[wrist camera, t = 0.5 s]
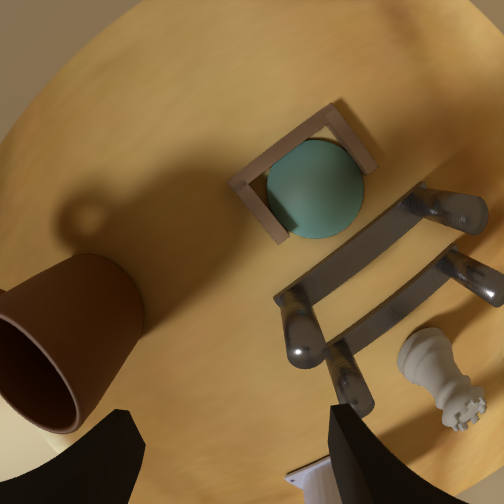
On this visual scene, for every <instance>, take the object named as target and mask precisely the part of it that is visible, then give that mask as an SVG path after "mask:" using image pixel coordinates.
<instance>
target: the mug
mask: <svg viewBox="0 0 504 504" xmlns="http://www.w3.org/2000/svg"><path fill="white" fill-rule="evenodd" d="M143 324H144V310H143V304H142V301H141V298H140V295H139V293H138V291H137V289H136V287H135V285H134V283H133V282H132V281H131V279H130V278H129V277H128V275H127V274H126V273H125V272H124V271H123V270H122V269H121V268H120V267H118V266H117V265H116V264H114V263H113V262H111V261H109V260H108V259H106V258H103V257H101V256H97V255H92V254H83V255H77V256H74V257H71V258H68V259H66V260H64V261H62V262H60V263H58V264H56V265H54V266H53V267H51V268H49V269H47V270H45V271H43V272H41V273H39V274H37V275H35V276H33V277H32V278H30V279H28V280H26V281H24V282H23V283H21V284H19V285H17V286H16V287H14V288H12V289H10V290H9V291H7V292H6V291H4V290H2V289H0V395H1V396H2V398H3V399H4V400H5V401H6V402H7V403H8V404H9V405H10V406H11V407H12V408H13V409H14V410H15V411H16V412H18V413H19V414H20V415H21V416H22V417H24V418H25V419H26V420H28V421H29V422H31V423H32V424H34V425H36V426H37V427H39V428H41V429H44V430H46V431H49V432H52V433H56V434H69V433H72V432H74V431H76V430H78V429H79V428H80V427H81V425H82V424H83V423H84V421H85V420H86V419H87V417H88V416H89V415H90V414H91V413H92V411H93V410H94V409H95V407H96V406H97V405H98V403H99V401H100V400H101V398H102V397H103V395H104V393H105V392H106V390H107V389H108V387H109V386H110V384H111V382H112V381H113V379H114V378H115V376H116V375H117V373H118V372H119V370H120V368H121V367H122V365H123V363H124V362H125V360H126V359H127V357H128V355H129V354H130V352H131V351H132V349H133V348H134V346H135V345H136V343H137V341H138V339H139V337H140V335H141V333H142V329H143Z"/></svg>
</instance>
